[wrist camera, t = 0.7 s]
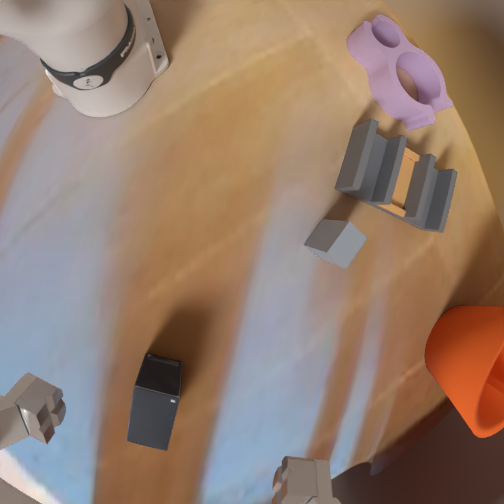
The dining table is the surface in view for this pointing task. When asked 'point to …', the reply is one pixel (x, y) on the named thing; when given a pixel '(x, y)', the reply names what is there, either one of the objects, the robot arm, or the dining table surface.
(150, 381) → the small box
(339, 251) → the tall grey pillar block
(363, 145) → the rack
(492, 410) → the flowerpot
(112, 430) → the dining table surface
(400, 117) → the clip
